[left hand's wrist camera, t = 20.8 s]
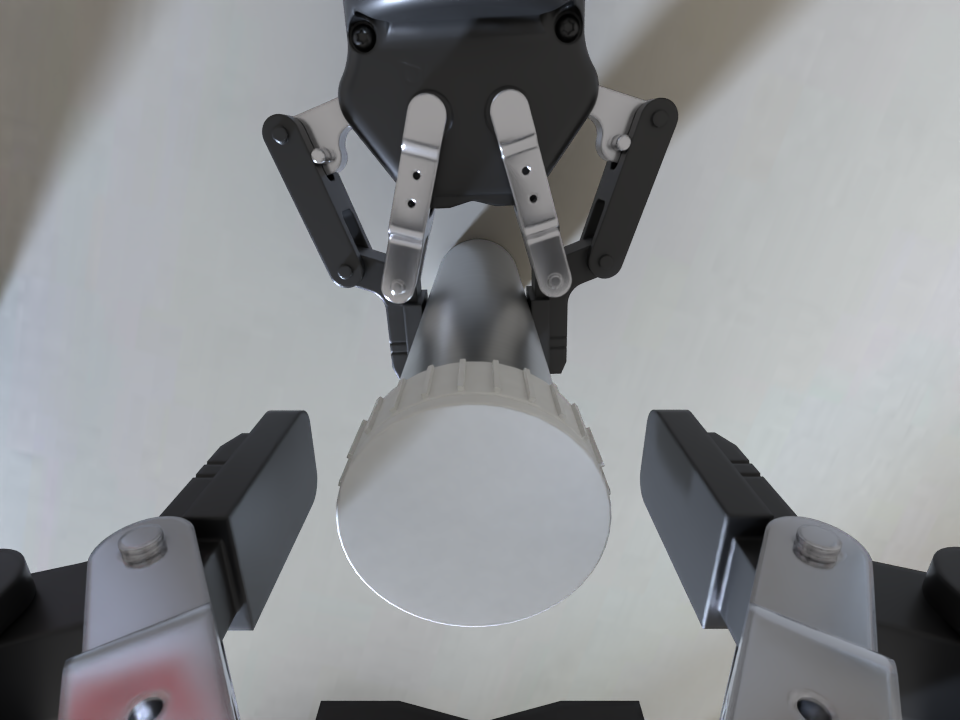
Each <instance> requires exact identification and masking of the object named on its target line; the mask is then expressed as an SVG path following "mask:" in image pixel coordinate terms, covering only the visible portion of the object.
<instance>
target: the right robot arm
mask: <svg viewBox="0 0 960 720" xmlns="http://www.w3.org/2000/svg"><path fill="white" fill-rule="evenodd" d="M343 5H344V13H345V22H346V31H347V39H348V55H347V62H346V67H345V70H344V73H343V75H342V78H341V80H340V84H339V89H338V98H335V99H333V100H331V101H328V102H326V103H324V104H321V105H319V106H317V107H315V108H312V109H310V110H308V111H305V112H303V113H301V114H298V115H296V116H288V115H282V114H275V115H272V116H270V117H268V118H267V119H266V121H265V122H264V125H263V128H262V134H263V139H264V141H265V143H266V145H267V147H268V150H269V152H270V154H271V156H272V158H273V160H274V162H275V164H276V166H277V168H278V170H279V172H280V174H281V176H282V178H283V180H284V182H285V185H286V187H287V189H288V191H289V193H290V195H291V197H292V199H293V201H294V203H295V205H296V207H297V209H298V211H299V213H300V215H301V217H302V220H303V222H304V224H305V226H306V228H307V230H308V232H309V234H310V236H311V238H312V240H313V242H314V244H315V246H316V248H317V250H318V253H319V255H320V257H321V259H322V261H323V263H324V265H325V267H326V269H327V271H328V273H329V275H330V277H331V279H332V280H333V282H334V283H336V284H337V285H338V286H341V287H344V288H351V287H358V288H361V289H364V290H368V291H371V292H373V293H375V294H377V295H378V296H379V297H380V298H381V299H382V300H383V302H384V304H385V307H386V312H387V321H388V330H389V339H390V348H391V357H392V366H393V369H394V371H395V373H396V375H397V376H398V378H399V379H400V378H401V375H402V372H403V369H404V366H405V364H406V361H407V358H408V355H409V352H410V349H411V346H412V344H413V341H414V338H415V335H416V332H417V329H418V327H419V324H420V321H421V318H422V315H423V312H424V309H425V307H426V304H427V301H428V295H427V290H421V275H422V270H423V265H424V260H425V255H426V250H427V245H428V240H429V235H430V231H431V227H432V223H433V218H434V213H435V208H451V207H454V206H457V205H460V204H463V203H466V202H469V201H477V202H481V203H486V204H490V205H494V206H506V205H513V207H514V211H515V214H516V218H517V221H518V224H519V227H520V230H521V234H522V237H523V240H524V244H525V247H526V251H527V254H528V258H529V261H530V265H531V268H532V286H526V298H527V302H528V305H529V308H530V311H531V314H532V318H533V321H534V324H535V327H536V330H537V334H538V337H539V340H540V343H541V347H542V350H543V353H544V356H545V359H546V363H547V366H548V369H549V372H550V374H559V373H561V372H562V370H563V368H564V365H565V363H566V352H567V348H566V346H567V304H568V298H569V295H570V293H571V292H572V290H573V289H574V288H575V287H577V286H578V285H580V284H582V283H584V282H587V281H589V280H592V279H594V278H597V277H599V278H610V277H612V276H614V275H616V274H617V273H618V272H619V270H620V269H621V267H622V264H623V262H624V259H625V257H626V254H627V251H628V249H629V246H630V244H631V241H632V238H633V236H634V233H635V231H636V228H637V225H638V223H639V220H640V218H641V215H642V212H643V210H644V207H645V205H646V202H647V200H648V197H649V194H650V192H651V189H652V187H653V184H654V181H655V179H656V176H657V174H658V171H659V168H660V166H661V163H662V161H663V158H664V155H665V153H666V150H667V148H668V145H669V142H670V140H671V137H672V135H673V132H674V130H675V127H676V124H677V121H678V111H677V108H676V106H675V104H674V103H673V102H672V101H670V100H669V99H666V98H657V99H650V100H642V99H639V98H636V97H633V96H630V95H627V94H624V93H621V92H618V91H615V90H612V89H609V88H606V87H603V86H599V82H598V76H597V73H596V70H595V68H594V66H593V64H592V62H591V60H590V57H589V54H588V51H587V48H586V43H585V36H584V14H585V0H343ZM587 118H589V119H590V120H591V121H593V123H594V124H595V126H596V130H597V138H596V151H597V153H598V155H599V156H600V157H601V158H602V159H603V160H605V161H607V164H606V166H605V169H604V172H603V175H602V178H601V181H600V184H599V186H598V189H597V192H596V195H595V198H594V201H593V204H592V207H591V209H590V212H589V215H588V218H587V221H586V224H585V227H584V229H583V232H582V235H581V238H580V241H577V242H575V243H573V244H570V245H568V246H565V247H564V246H563V242H562V238H561V235H560V230H559V222H558V217H557V214H556V210H555V206H554V202H553V198H552V194H551V191H550V187H549V183H548V179H547V177H548V176H549V174H550V173H551V171H552V170H553V168H554V167H555V165H556V164H557V162H558V161H559V159H560V158H561V156H562V155H563V153H564V152H565V150H566V149H567V147H568V146H569V144H570V143H571V141H572V140H573V139H574V137H575V136H576V134H577V133H578V131H579V130H580V128H581V127H582V125H583V124H584V122H585V121H586V119H587ZM351 129H353V130H354V131H355V132H356V134H357V135H358V136H359V137H360V139H361V140H362V141H363V142H364V144H365V145H366V146H367V147H368V149H369V150H370V151H371V152H372V153H373V155H374V156H375V157H376V158H377V160H378V161H379V162H380V163H381V165H382V166H383V167H384V168H385V170H386V171H387V172H388V173H389V175H390V176H391V177H392V178H393V180H394V181H395V182H396V187H395V193H394V199H393V205H392V211H391V217H390V223H389V231H388V234H389V240H388V247H387V252H386V254H385V253H382V252H379V251H376V250H372V248H371V245H370V243H369V241H368V239H367V236H366V234H365V232H364V230H363V227H362V225H361V223H360V221H359V219H358V216H357V214H356V212H355V210H354V207H353V205H352V203H351V201H350V198H349V196H348V194H347V192H346V189H345V187H344V185H343V183H342V180H341V178H340V176H339V174H338V172H340V171H342V170H343V169H344V168H345V166H346V164H347V160H348V155H347V151H346V147H345V140H346V136H347V134H348V132H349V131H350V130H351Z"/></svg>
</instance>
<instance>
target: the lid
mask: <svg viewBox="0 0 960 720" xmlns="http://www.w3.org/2000/svg"><path fill="white" fill-rule="evenodd" d="M347 458H348V462H347V464H346V466H345V469H344V471H343V473H342V476H341V478H340V480H339V486H340V489H339V494H338V499H337V510H336V519H337V528H338V533H339V537H340V540H341V544H342V547H343V549H344V552H345V554H346V556H347V558H348V560H349V562H350V563H351V565H352V567H353V568H354V570H355V571H356V573H357V574H358V575H359V576H360V577H361V579H362V580H363V581H364V582H365V583H366V584H367V585H368V586H369V587H370V588H371V589H372V590H373V591H374V592H375V593H376V594H378V595H379V596H380V597H382V598H383V599H385V600H386V601H387V602H389V603H390V604H392V605H394V606H396V607H398V608H399V609H401V610H403V611H405V612H407V613H410V614H412V615H414V616H417V617H419V618H423V619H426V620H429V621H433V622H437V623H442V624H447V625H454V626H464V627H484V626H495V625H502V624H507V623H512V622H516V621H519V620H523V619H526V618H529V617H532V616H534V615H537V614H539V613H541V612H544V611H546V610H547V609H549V608H551V607H553V606H555V605H557V604H558V603H560V602H561V601H562V600H564V599H565V598H567V597H568V596H569V595H571V594H572V593H573V592H574V591H575V590H576V589H577V588H578V587H580V586H581V585H582V584H583V582H584V581H585V580H586V579H587V578H588V577H589V575H590V574H591V573H592V571H593V570H594V568H595V567H596V565H597V564H598V562H599V560H600V558H601V556H602V554H603V552H604V549H605V547H606V543H607V540H608V536H609V533H610V525H611V502H610V497H609V495H610V489H609V486H608V483H607V481H606V478H605V475H604V473H603V470H602V468H601V467H603V466H604V463H603V461H602V458H601V456H600V453H599V450H598V448H597V445H596V443H595V440H594V438H593V435H592V433H591V430H590V428H589V427H588V428H585V425H584V423H583V420H582V417H581V415H580V412H579V409H578V407H577V405H576V404H575V403H574V404H572V405H571V404H570V403H569V402H568V401H567V400H566V399H565V398H564V397H563V396H562V395H561V394H560V393H559V391H558V388H557V385H555V384H554V383H552V384H551V385H549V384H548V383H546V382H545V381H543V380H541V379H540V378H538V377H536V376H534V375H532V374H531V373H530V370H529V369H527V368H524V370H520V369H517V368H515V367H511V366H507V365H503V364H499V361H498V360H493V362H492V363H490V362H466V359H460V362H459V363H450V364H446V365H442V366H438V367H434V366H433V365H430V366H428V367H427V370H426V371H423V372H421V373H418V374H417V375H415V376H413V377H411V378H409V379H407V380H405V378H402V379H401V380H399V383H398V386H397V387H396V388H394V389H393V390H392V391H391V392H390V393H389V394H388V395H387V396H386V397H384V398H382V397H379V398H378V399H377V401H376V403H375V406H374V408H373V411H372V413H371V415H370V417H369V419H368V421H366V420H363V421H362V423H361V426H360V428H359V430H358V432H357V435H356V437H355V439H354V442H353V444H352V446H351V449H350V451H349V453H348V455H347Z"/></svg>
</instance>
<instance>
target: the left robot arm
mask: <svg viewBox="0 0 960 720" xmlns="http://www.w3.org/2000/svg"><path fill="white" fill-rule="evenodd" d="M640 486H641V493H642V497H643V501H644V503H645V505H646V507H647V510H648V512H649V514H650V516H651V518H652V520H653V522H654V525H655V527H656V529H657V531H658V533H659V535H660V537H661V540H662V542H663V544H664V546H665V548H666V550H667V553H668V555H669V557H670V559H671V561H672V563H673V565H674V568H675V570H676V572H677V574H678V576H679V578H680V580H681V583H682V585H683V587H684V589H685V591H686V593H687V595H688V598H689V600H690V602H691V604H692V606H693V608H694V610H695V613H696V615H697V617H698V619H699V621H700V623H701V625H702V628H703V629H729V631H730V633H731V635H732V637H733V639H734V641H735V643H736V649H735V653H734V657H733V661H732V666H731V670H730V675H729V679H728V684H727V688H726V692H725V697H724V701H723V706H722V710H721V715H720V719H719V720H960V547H947V548H943V549H940V550H939V551H937V552H936V553H935V554H934V556H933V559H932V561H931V564H930V566H929V569H928V571H927V572H922V571H917V570H913V569H908V568H903V567H898V566H894V565H889V564H884V563H879V562H875V561H872V559H871V557H870V555H869V553H868V552H867V550H866V549H865V548H864V547H863V546H862V545H861V544H860V543H859V542H858V541H857V540H855V539H854V538H853V537H852V536H850V535H848V534H847V533H845V532H844V531H842V530H840V529H838V528H836V527H834V526H832V525H829V524H827V523H824V522H821V521H818V520H815V519H811V518H806V517H798V516H797V515H796V514H795V513H794V512H793V511H792V509H791V508H790V507H789V506H788V505H787V504H786V503H785V501H784V500H783V499H782V498H781V497H780V496H779V494H778V493H777V492H776V491H775V490H774V489H773V488H772V486H771V485H770V484H769V483H768V482H767V481H766V479H765V478H764V477H761V476H760V473H759V471H758V470H757V469H756V468H755V467H754V466H753V464H749V460H748V459H747V458H746V456H745V455H744V454H743V453H742V452H741V451H740V449H739V448H738V447H737V446H736V445H734V444H733V443H731V442H730V441H728V440H726V439H725V438H723V437H721V436H720V435H718V434H716V433H707V432H706V430H705V429H704V428H703V427H702V425H701V424H700V423H699V422H698V420H697V419H696V418H695V417H694V415H693V414H692V413H691V412H690V411H689V410H652V411H651V412H650V413H649V416H648V420H647V427H646V434H645V442H644V449H643V456H642V464H641V472H640ZM316 489H317V470H316V463H315V455H314V448H313V441H312V433H311V426H310V420H309V416H308V414H307V412H306V411H268V412H266V413H265V415H264V416H263V417H262V418H261V420H260V421H259V422H258V423H257V425H256V426H255V427H254V428H253V429H252V431H251V432H250V433H242V434H240V435H238V436H237V437H235V438H233V439H232V440H230V441H229V442H227V443H225V444H224V445H222V446H220V448H219V449H218V450H217V451H216V452H215V453H214V454H213V456H212V457H211V458H210V459H209V460H208V461H207V465H204V466H203V467H202V468H201V469H200V470H199V472H198V473H197V474H196V478H192V480H191V481H190V482H189V483H188V484H187V485H186V486H185V488H184V489H183V490H182V491H181V492H180V493H179V494H178V496H177V497H176V498H175V499H174V500H173V501H172V502H171V504H170V505H169V506H168V507H167V508H166V509H165V510H164V512H163V513H162V514H161V515H160V516H159V517H154V518H149V519H145V520H142V521H139V522H136V523H133V524H131V525H128V526H126V527H124V528H122V529H120V530H118V531H116V532H115V533H113V534H112V535H110V536H108V537H107V538H106V539H105V540H103V541H102V542H101V543H100V544H99V545H98V546H97V547H96V548H95V549H94V550H93V552H92V553H91V555H90V557H89V559H88V561H87V562H83V563H79V564H74V565H69V566H64V567H60V568H55V569H50V570H46V571H41V572H36V573H30V571H29V568H28V566H27V563H26V561H25V559H24V556H23V555H22V554H21V553H20V552H18V551H15V550H11V549H0V720H241V719H240V715H239V710H238V706H237V701H236V697H235V692H234V688H233V684H232V679H231V675H230V670H229V666H228V661H227V657H226V653H225V649H224V645H223V641H222V640H223V638H224V636H225V634H226V632H227V630H253V629H254V627H255V625H256V623H257V621H258V619H259V617H260V615H261V612H262V610H263V608H264V606H265V604H266V602H267V600H268V598H269V596H270V593H271V591H272V589H273V587H274V585H275V583H276V581H277V579H278V577H279V574H280V572H281V570H282V568H283V566H284V564H285V562H286V560H287V557H288V555H289V553H290V551H291V549H292V547H293V545H294V543H295V541H296V538H297V536H298V534H299V532H300V530H301V528H302V526H303V524H304V521H305V519H306V517H307V515H308V513H309V511H310V509H311V507H312V505H313V502H314V499H315V495H316ZM316 720H468V719H464V718H460V717H457V716H453V715H449V714H445V713H442V712H438V711H434V710H431V709H427V708H423V707H420V706H416V705H412V704H409V703H405V702H401V701H321V703H320V706H319V710H318V713H317V717H316ZM492 720H644V717H643V713H642V710H641V706H640V703H639V701H559V702H555V703H551V704H548V705H544V706H540V707H537V708H533V709H529V710H526V711H522V712H518V713H515V714H511V715H507V716H503V717H500V718H496V719H492Z"/></svg>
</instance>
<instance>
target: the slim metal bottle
mask: <svg viewBox="0 0 960 720" xmlns="http://www.w3.org/2000/svg"><path fill="white" fill-rule="evenodd" d="M460 359H466V362H490V363H492V362H493V360H498V361H499V364H503V365H507V366H511V367H515V368H517V369H520V370H524V368H527V369H529V370H530V373H531V374H532V375H534V376H536V377H538V378H540V379H541V380H543V381H545V382H546V383H548V384H549V385H551V384H552V383H553V382H552V379H551V375H550V372H549V369H548V366H547V363H546V359H545V356H544V353H543V350H542V347H541V343H540V340H539V337H538V334H537V330H536V327H535V324H534V321H533V318H532V314H531V311H530V308H529V305H528V302H527V298H526V295H525V292H524V289H523V286H522V282H521V279H520V276H519V273H518V269H517V267H516V264H515V262H514V260H513V258H512V257H511V255H510V254H509V253H508V252H507V251H506V250H505V249H504V248H503V247H502V246H500V245H498V244H496V243H494V242H492V241H488V240H483V239H473V240H468V241H464V242H462V243H460V244H458V245H456V246H455V247H453V248H452V249H451V250H450V251H449V252H448V253H447V254H446V255H445V257H444V258H443V260H442V262H441V264H440V267H439V269H438V272H437V275H436V278H435V281H434V284H433V287H432V289H431V292H430V295H429V298H428V301H427V304H426V307H425V309H424V312H423V315H422V318H421V321H420V324H419V327H418V329H417V332H416V335H415V338H414V341H413V344H412V346H411V349H410V352H409V355H408V358H407V361H406V364H405V366H404V369H403V372H402V375H401V378H400V380H401V379H402V378H405V380H407V379H409V378H411V377H413V376H415V375H417V374H418V373H421V372H423V371H426V370H427V367H428V366H430V365H433V366H434V367H438V366H442V365H446V364H450V363H459V362H460Z"/></svg>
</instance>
